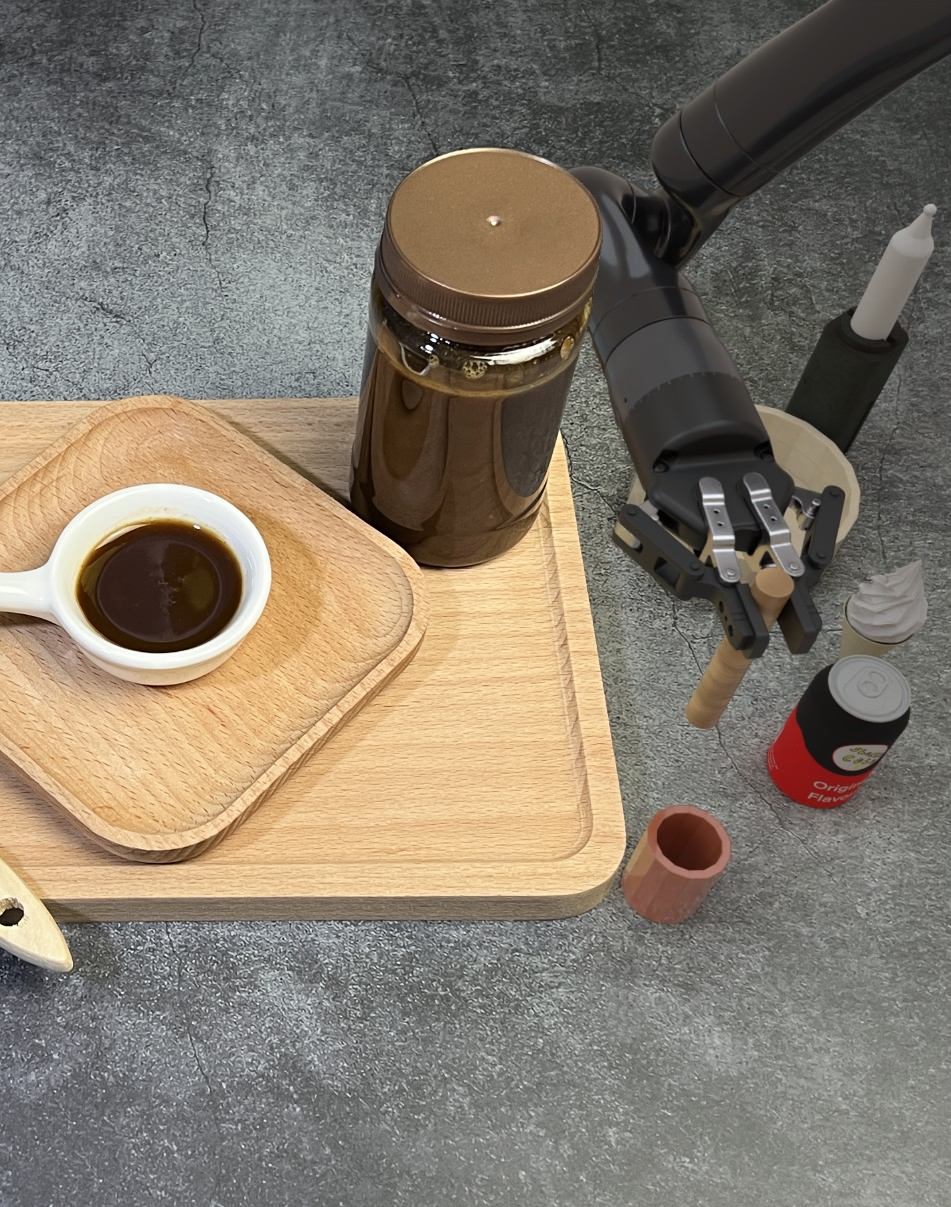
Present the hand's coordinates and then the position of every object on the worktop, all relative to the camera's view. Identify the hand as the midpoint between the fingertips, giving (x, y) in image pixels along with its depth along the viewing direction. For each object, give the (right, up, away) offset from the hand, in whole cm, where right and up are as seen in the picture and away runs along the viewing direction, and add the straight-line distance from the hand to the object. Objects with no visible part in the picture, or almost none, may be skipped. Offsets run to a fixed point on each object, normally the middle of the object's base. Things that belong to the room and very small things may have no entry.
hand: (782, 647), depth 77 cm
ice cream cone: (+18, -3, +31) cm, 36 cm away
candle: (+22, +16, +44) cm, 52 cm away
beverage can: (+14, -10, +27) cm, 31 cm away
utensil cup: (+1, -18, +22) cm, 28 cm away
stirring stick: (0, -5, +12) cm, 12 cm away
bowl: (+13, +9, +40) cm, 43 cm away
